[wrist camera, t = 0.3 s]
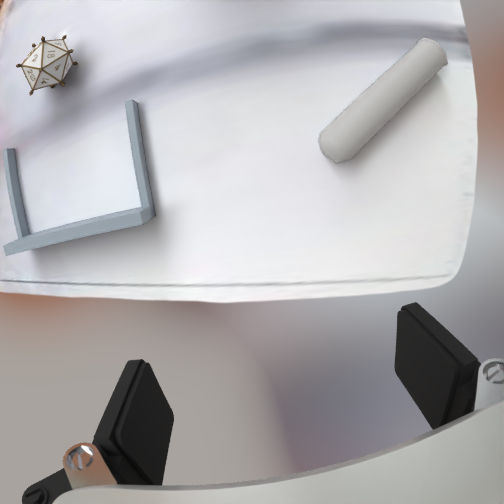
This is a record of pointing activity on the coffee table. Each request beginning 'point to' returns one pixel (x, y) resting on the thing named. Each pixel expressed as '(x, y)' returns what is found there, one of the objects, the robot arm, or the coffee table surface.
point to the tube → (381, 101)
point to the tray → (89, 225)
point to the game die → (47, 64)
